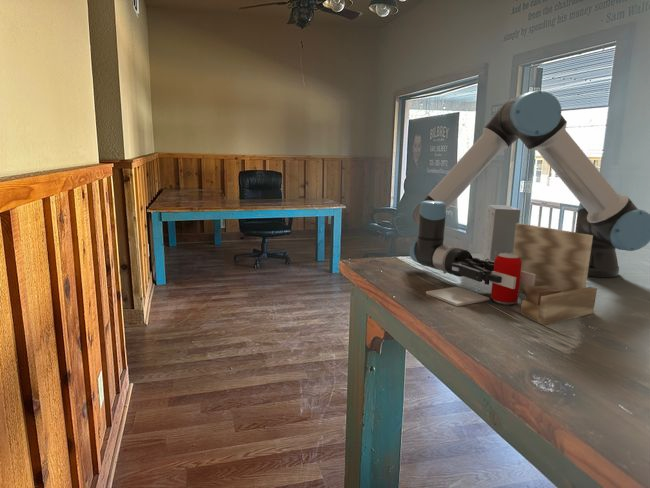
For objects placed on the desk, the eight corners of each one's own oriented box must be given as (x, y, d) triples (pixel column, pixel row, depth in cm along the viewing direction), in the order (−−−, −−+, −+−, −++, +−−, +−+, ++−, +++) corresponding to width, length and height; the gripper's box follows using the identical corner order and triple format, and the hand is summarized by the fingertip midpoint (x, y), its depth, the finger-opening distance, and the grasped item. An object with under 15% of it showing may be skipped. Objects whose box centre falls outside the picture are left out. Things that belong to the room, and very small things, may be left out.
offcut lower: (520, 315, 104) (522, 300, 103) (540, 310, 107) (541, 296, 107) (540, 322, 100) (542, 306, 99) (559, 317, 103) (561, 302, 102)
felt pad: (457, 288, 123) (457, 286, 123) (489, 300, 113) (489, 297, 113) (426, 293, 118) (426, 291, 117) (456, 306, 108) (457, 303, 108)
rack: (464, 295, 117) (471, 226, 113) (512, 287, 125) (519, 223, 122) (544, 325, 97) (554, 243, 94) (594, 312, 106) (605, 237, 102)
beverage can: (522, 305, 110) (527, 257, 108) (499, 306, 109) (504, 258, 106) (507, 297, 116) (512, 252, 113) (485, 298, 114) (490, 252, 112)
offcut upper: (525, 299, 104) (526, 286, 103) (546, 297, 106) (547, 285, 105) (537, 305, 100) (539, 292, 100) (559, 303, 102) (561, 290, 101)
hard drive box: (514, 273, 141) (521, 210, 137) (488, 271, 142) (494, 208, 138) (504, 262, 156) (511, 204, 152) (481, 261, 157) (487, 203, 153)
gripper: (476, 270, 132) (548, 291, 112) (426, 277, 122) (494, 302, 103) (478, 245, 130) (552, 262, 110) (428, 250, 121) (497, 270, 101)
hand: (524, 281), depth 107 cm, fingers closed on beverage can, 6 cm apart
